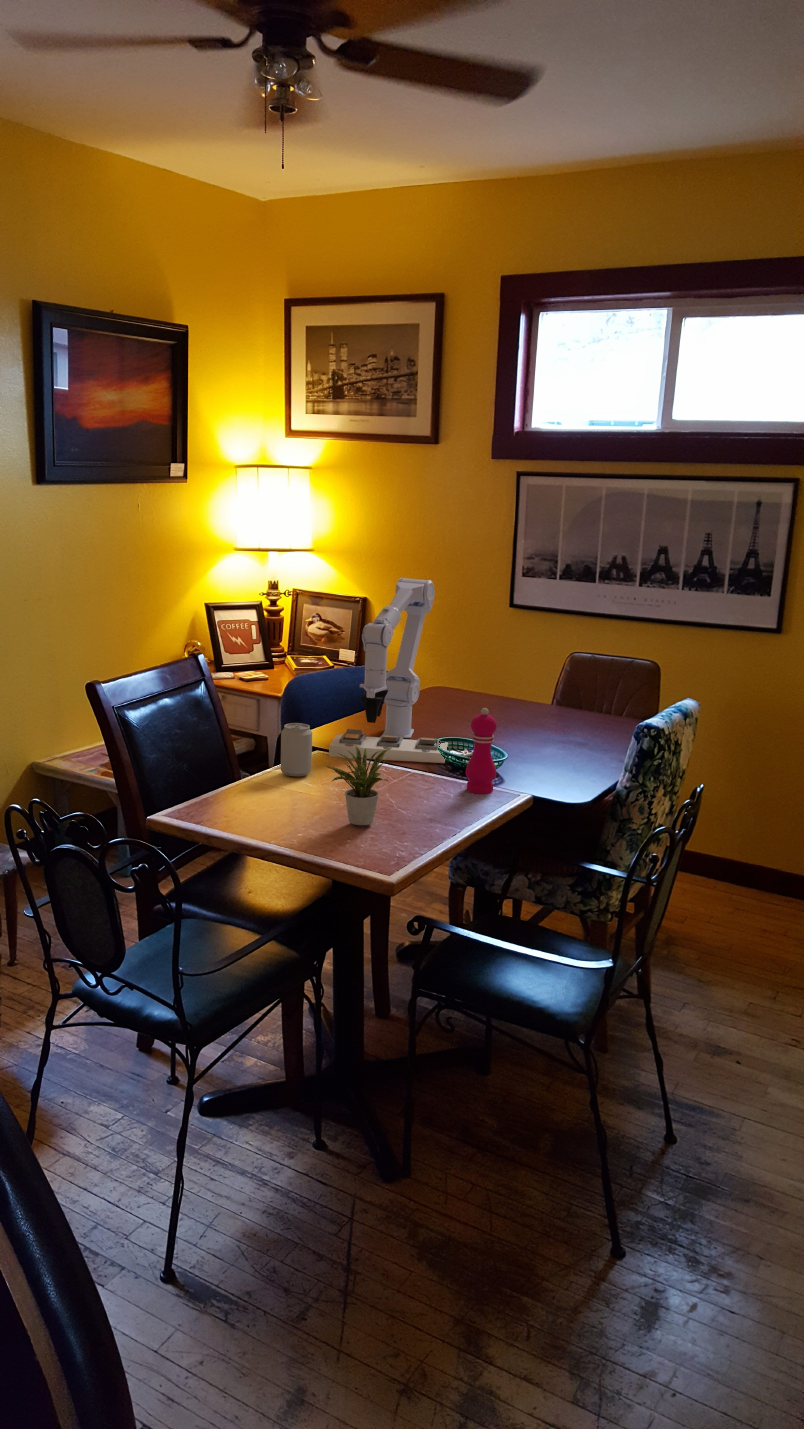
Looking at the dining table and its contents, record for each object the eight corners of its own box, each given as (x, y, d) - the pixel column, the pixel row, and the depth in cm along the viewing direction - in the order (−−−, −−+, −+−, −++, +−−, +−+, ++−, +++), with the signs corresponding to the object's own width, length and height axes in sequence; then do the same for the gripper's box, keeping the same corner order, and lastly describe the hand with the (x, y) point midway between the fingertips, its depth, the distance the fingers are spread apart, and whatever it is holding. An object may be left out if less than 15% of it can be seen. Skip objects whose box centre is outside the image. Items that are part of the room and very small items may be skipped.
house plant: (360, 804, 227) (363, 733, 223) (409, 819, 218) (412, 745, 215) (316, 818, 216) (317, 744, 212) (365, 835, 207) (367, 757, 204)
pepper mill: (496, 795, 238) (501, 712, 233) (465, 794, 238) (470, 710, 233) (494, 786, 245) (499, 705, 240) (463, 785, 245) (468, 703, 240)
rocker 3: (421, 741, 271) (421, 737, 271) (436, 742, 271) (436, 738, 271) (419, 743, 265) (419, 739, 265) (434, 744, 265) (434, 740, 265)
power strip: (337, 745, 277) (337, 731, 276) (490, 756, 272) (491, 742, 271) (329, 756, 265) (329, 741, 264) (489, 768, 261) (490, 753, 260)
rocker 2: (384, 738, 272) (384, 734, 272) (399, 739, 272) (399, 735, 272) (381, 740, 266) (381, 736, 266) (396, 741, 266) (396, 737, 266)
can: (275, 775, 246) (276, 726, 244) (287, 767, 253) (288, 720, 251) (304, 778, 244) (305, 730, 242) (315, 771, 251) (317, 723, 249)
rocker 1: (347, 732, 273) (347, 728, 273) (362, 733, 273) (362, 729, 273) (343, 741, 268) (343, 737, 267) (358, 742, 267) (358, 738, 267)
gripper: (365, 663, 276) (363, 712, 279) (355, 672, 262) (354, 724, 265) (391, 665, 275) (389, 714, 278) (382, 674, 261) (380, 726, 264)
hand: (373, 719), depth 271 cm, fingers open, 7 cm apart
